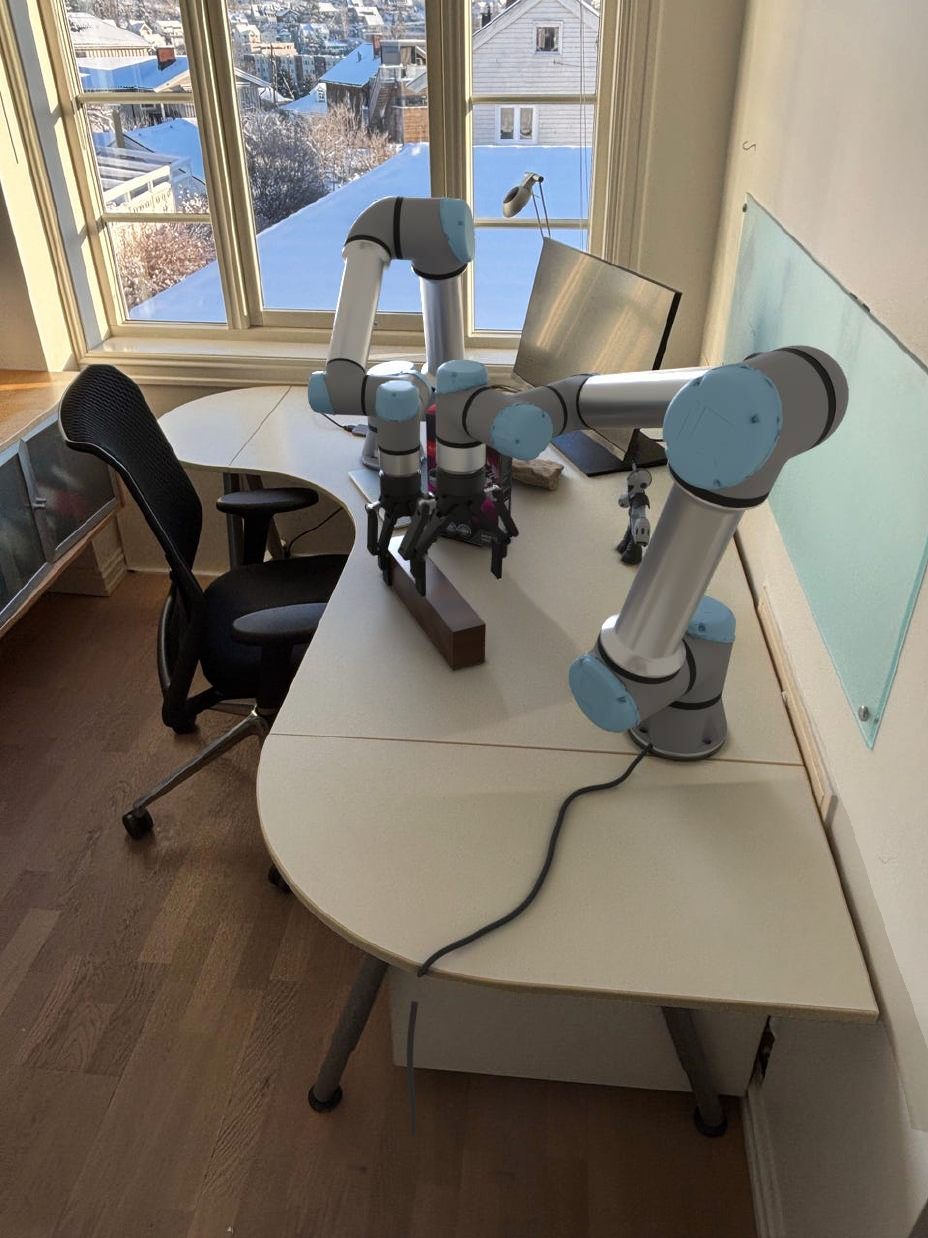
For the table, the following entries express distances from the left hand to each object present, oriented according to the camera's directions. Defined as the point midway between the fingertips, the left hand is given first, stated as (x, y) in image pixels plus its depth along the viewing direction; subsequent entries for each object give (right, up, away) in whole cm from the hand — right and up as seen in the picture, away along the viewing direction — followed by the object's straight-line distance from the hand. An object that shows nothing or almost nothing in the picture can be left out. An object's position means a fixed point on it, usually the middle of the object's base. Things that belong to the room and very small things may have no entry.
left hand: (403, 578), depth 179 cm
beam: (+5, -7, -9) cm, 13 cm away
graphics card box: (+13, +10, +16) cm, 23 cm away
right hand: (+11, -2, -27) cm, 29 cm away
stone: (+24, +26, +40) cm, 53 cm away
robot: (+46, +5, +10) cm, 47 cm away
